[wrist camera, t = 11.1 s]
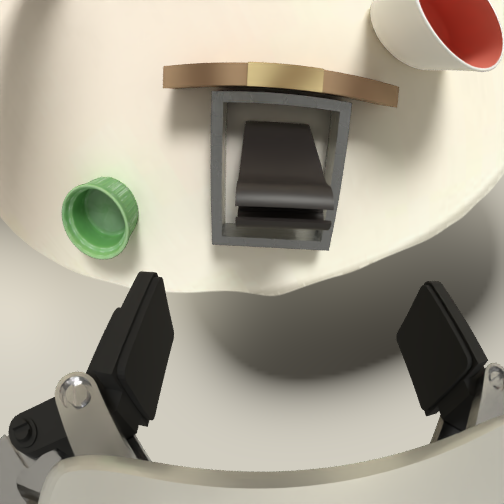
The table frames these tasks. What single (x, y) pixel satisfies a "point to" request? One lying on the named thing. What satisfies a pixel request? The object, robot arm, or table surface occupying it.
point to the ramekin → (100, 217)
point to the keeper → (332, 175)
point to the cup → (440, 33)
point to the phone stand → (281, 179)
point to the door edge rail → (280, 80)
